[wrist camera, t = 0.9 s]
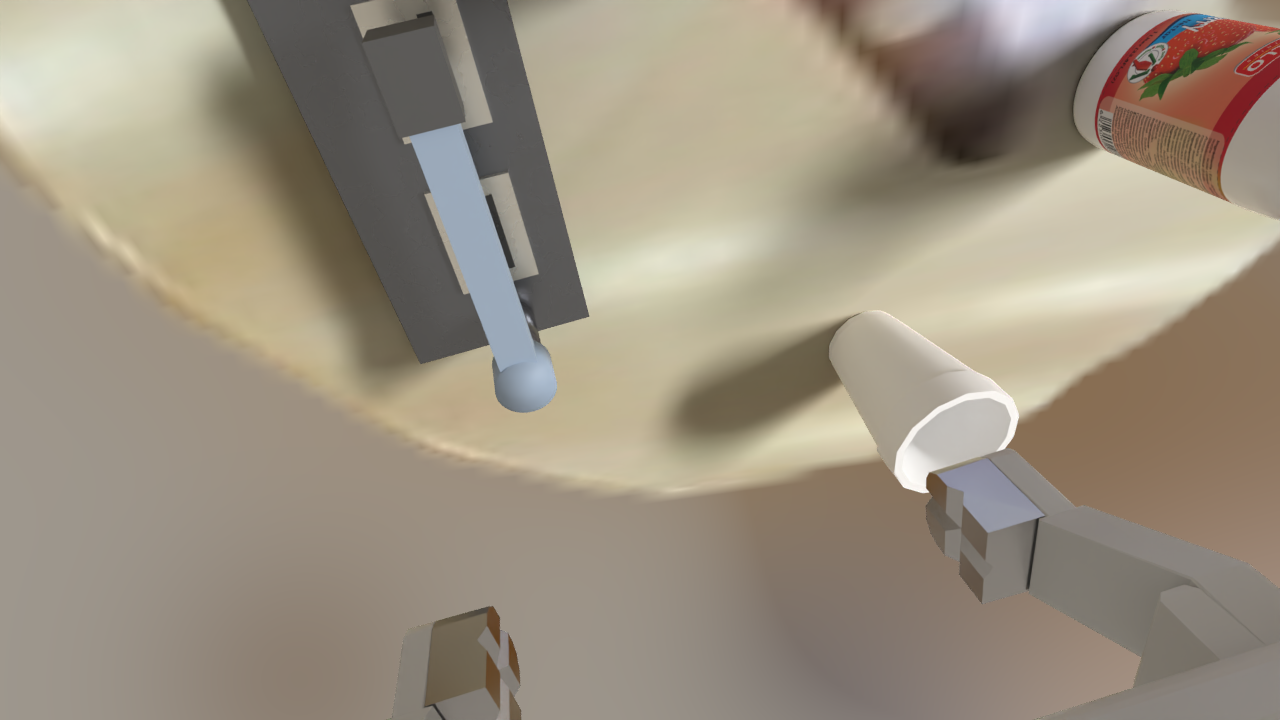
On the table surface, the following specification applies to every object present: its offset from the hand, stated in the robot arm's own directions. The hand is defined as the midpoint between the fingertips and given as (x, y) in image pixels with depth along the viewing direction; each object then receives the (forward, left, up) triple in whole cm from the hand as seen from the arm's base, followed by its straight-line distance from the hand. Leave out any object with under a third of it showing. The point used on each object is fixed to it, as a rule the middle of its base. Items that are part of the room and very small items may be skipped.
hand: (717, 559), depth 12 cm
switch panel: (+2, -6, -34) cm, 34 cm away
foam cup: (+26, +22, -34) cm, 49 cm away
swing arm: (+5, -5, -27) cm, 28 cm away
